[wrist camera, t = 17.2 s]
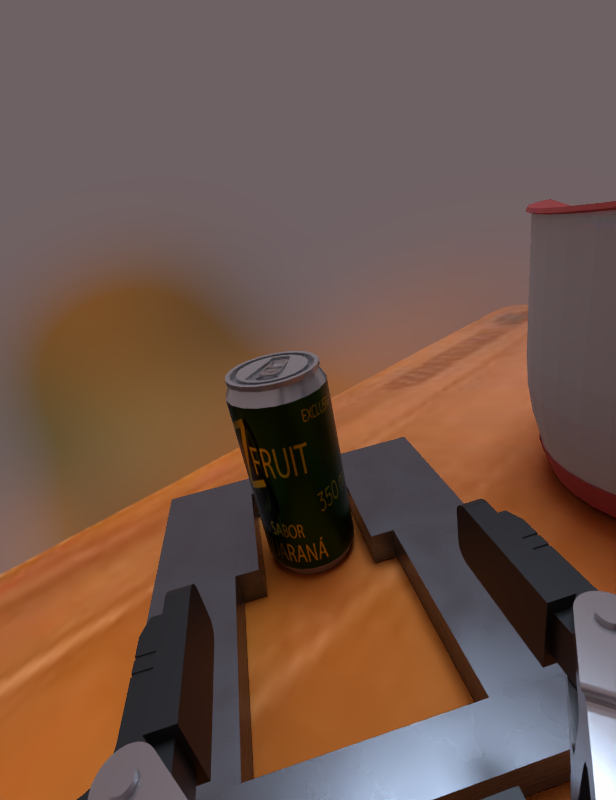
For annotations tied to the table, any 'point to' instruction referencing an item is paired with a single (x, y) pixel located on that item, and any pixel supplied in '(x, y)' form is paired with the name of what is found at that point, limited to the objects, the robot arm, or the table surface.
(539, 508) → the table surface
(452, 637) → the keyhole plate
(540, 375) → the citrus juicer
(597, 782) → the robot arm
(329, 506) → the green drink can
